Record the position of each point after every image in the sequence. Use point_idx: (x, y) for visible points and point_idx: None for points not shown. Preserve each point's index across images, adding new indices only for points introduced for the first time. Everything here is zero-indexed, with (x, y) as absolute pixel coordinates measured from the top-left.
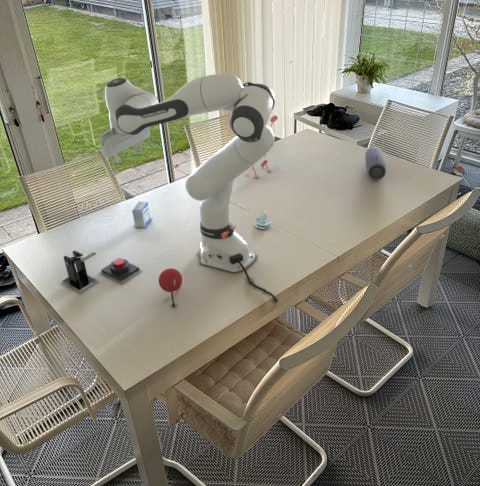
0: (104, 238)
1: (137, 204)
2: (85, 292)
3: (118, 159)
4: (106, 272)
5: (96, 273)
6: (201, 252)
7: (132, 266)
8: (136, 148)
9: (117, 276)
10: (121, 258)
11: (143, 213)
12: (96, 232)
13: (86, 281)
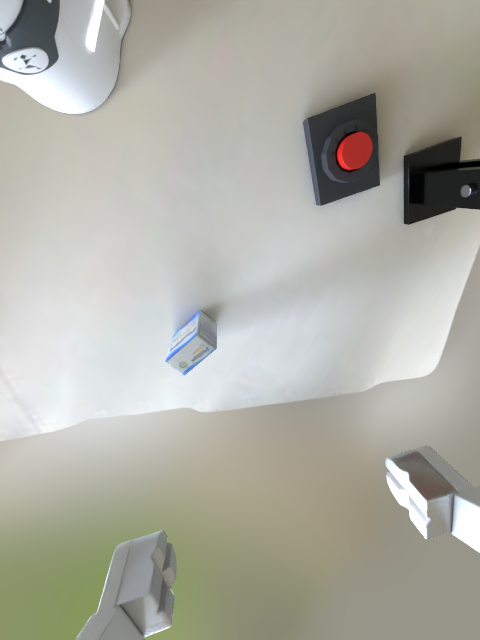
0: (289, 320)
1: (193, 365)
2: (446, 130)
3: (461, 487)
4: (378, 162)
5: (379, 196)
6: (108, 19)
7: (317, 139)
8: (158, 604)
9: (372, 118)
10: (343, 160)
11: (192, 331)
12: (290, 348)
13: (426, 165)
